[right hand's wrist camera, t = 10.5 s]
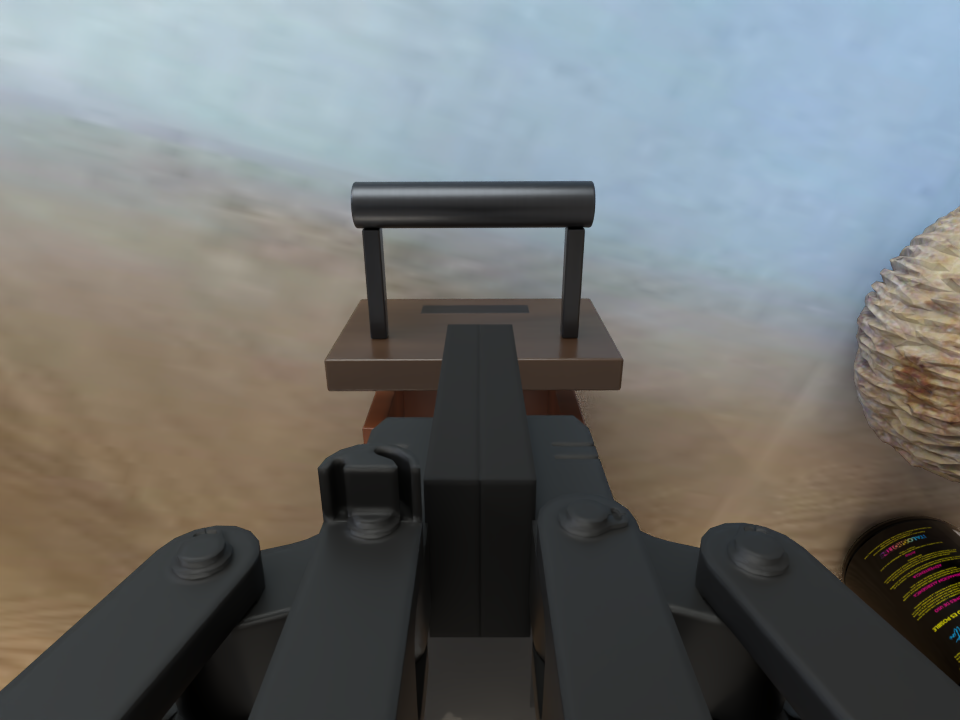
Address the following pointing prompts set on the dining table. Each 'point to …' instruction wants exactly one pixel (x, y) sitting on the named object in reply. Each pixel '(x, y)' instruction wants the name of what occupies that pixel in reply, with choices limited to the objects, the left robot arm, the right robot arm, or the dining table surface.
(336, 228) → the dining table surface
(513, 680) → the cabinet
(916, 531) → the supplement container
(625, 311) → the dining table surface
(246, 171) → the dining table surface
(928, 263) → the seashell
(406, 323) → the drawer
